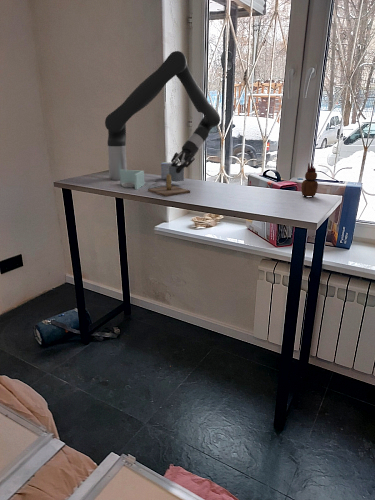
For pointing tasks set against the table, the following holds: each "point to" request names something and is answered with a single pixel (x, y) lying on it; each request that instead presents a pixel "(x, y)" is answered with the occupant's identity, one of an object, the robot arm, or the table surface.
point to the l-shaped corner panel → (132, 178)
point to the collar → (174, 174)
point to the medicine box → (165, 169)
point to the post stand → (168, 189)
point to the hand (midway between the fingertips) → (173, 171)
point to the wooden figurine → (310, 182)
